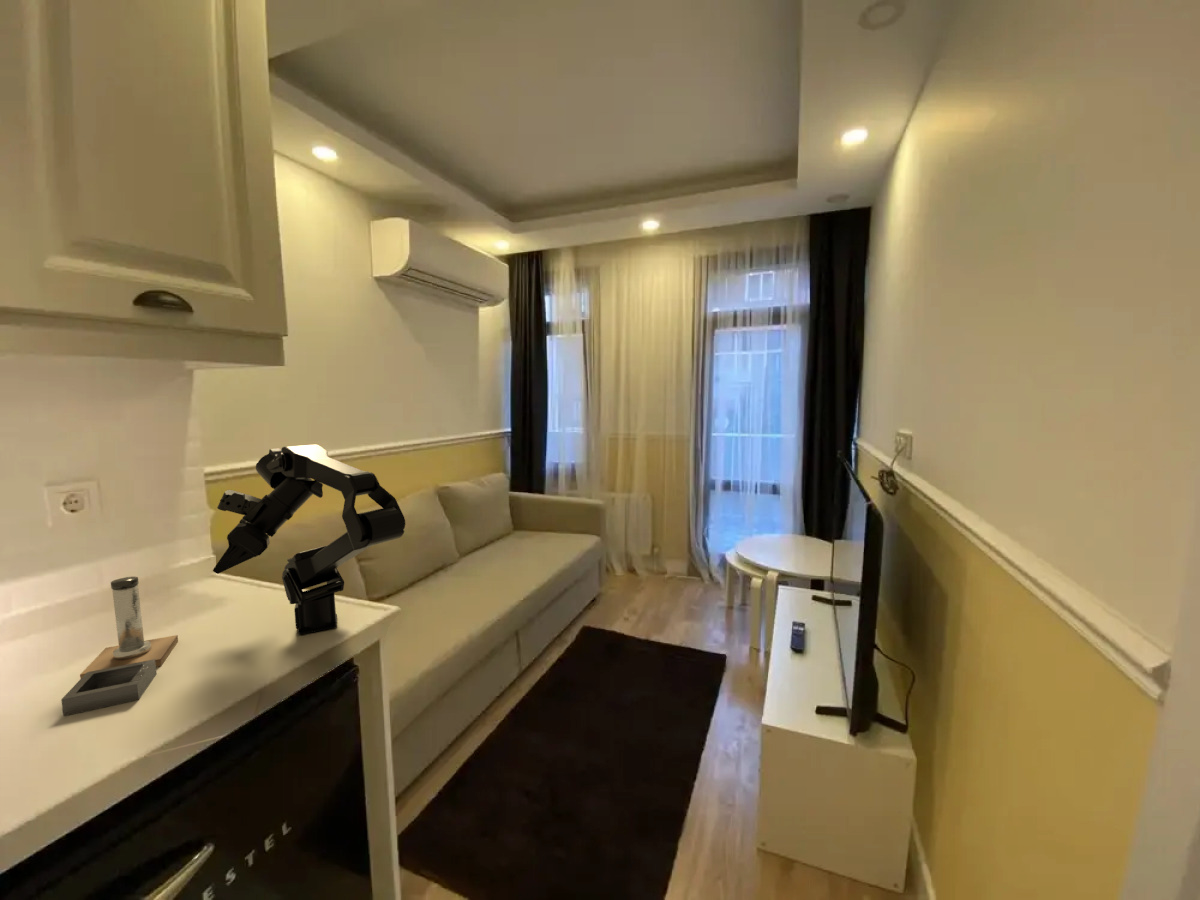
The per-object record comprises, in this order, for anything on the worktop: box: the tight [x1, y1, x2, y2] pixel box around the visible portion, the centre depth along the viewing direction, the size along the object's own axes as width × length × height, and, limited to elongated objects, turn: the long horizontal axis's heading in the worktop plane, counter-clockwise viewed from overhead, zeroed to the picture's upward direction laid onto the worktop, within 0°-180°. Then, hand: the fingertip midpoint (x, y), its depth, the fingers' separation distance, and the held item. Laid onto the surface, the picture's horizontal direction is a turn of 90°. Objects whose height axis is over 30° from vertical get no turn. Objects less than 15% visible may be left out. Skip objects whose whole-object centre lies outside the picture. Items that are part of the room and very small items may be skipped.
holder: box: [60, 659, 157, 717], centre depth 77 cm, size 8×8×2 cm
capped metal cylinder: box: [110, 576, 151, 660], centre depth 87 cm, size 5×5×13 cm
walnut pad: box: [79, 634, 179, 679], centre depth 87 cm, size 10×10×1 cm
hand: (220, 565), depth 95 cm, fingers open, 9 cm apart
